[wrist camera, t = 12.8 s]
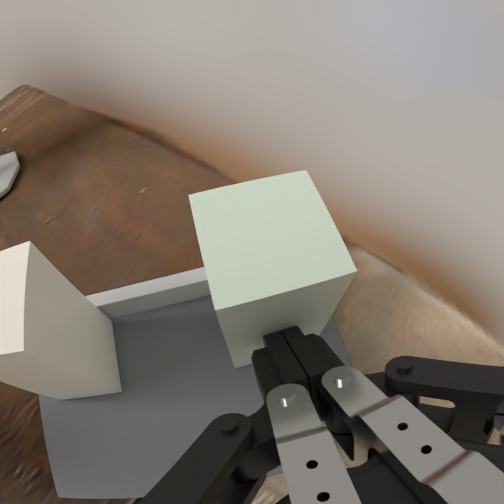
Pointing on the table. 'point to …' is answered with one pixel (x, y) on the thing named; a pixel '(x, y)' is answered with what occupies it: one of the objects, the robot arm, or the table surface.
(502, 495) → the robot arm
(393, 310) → the table surface
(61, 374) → the white block
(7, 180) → the wineglass
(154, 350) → the tile board
